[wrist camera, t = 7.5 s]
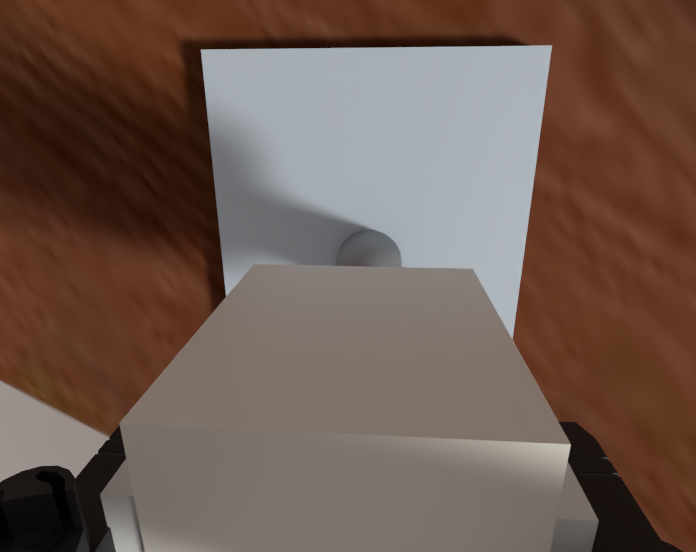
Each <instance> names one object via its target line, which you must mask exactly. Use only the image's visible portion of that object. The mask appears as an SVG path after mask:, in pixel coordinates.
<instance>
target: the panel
mask: <svg viewBox="0 0 696 552" xmlns="http://www.w3.org/2000/svg"><path fill="white" fill-rule="evenodd" d="M551 48H552V46H467V47H380V48H293V49H206V50H201V57H202V66H203V76H204V86H205V96H206V106H207V115H208V125H209V135H210V145H211V155H212V164H213V174H214V184H215V194H216V203H217V213H218V223H219V233H220V243H221V252H222V262H223V272H224V282H225V291H226V296H227V295H228V294H229V293H230V292H231V290H232V289H233V288H234V287H235V286H236V285H237V283H238V282H239V281H240V280H241V279H242V277H243V276H244V275H245V274H246V273H247V272H248V270H249V269H250V268H251V267H252V266H253V264H275V265H321V266H367V267H413V268H459V269H473V270H474V272H475V274H476V275H477V277H478V279H479V281H480V282H481V284H482V286H483V288H484V290H485V291H486V293H487V295H488V297H489V299H490V300H491V302H492V304H493V306H494V308H495V309H496V311H497V313H498V315H499V316H500V318H501V320H502V322H503V324H504V325H505V327H506V329H507V331H508V333H509V334H510V336H511V338H512V339H513V332H514V324H515V317H516V309H517V302H518V294H519V287H520V279H521V272H522V264H523V257H524V250H525V242H526V235H527V227H528V220H529V212H530V205H531V197H532V190H533V182H534V175H535V168H536V160H537V153H538V145H539V138H540V130H541V123H542V115H543V108H544V101H545V93H546V86H547V78H548V71H549V63H550V56H551Z"/></svg>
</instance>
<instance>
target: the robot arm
mask: <svg viewBox="0 0 696 552" xmlns="http://www.w3.org/2000/svg"><path fill="white" fill-rule="evenodd" d="M559 424H560V426H561V427H562V429H563V431H564V433H565V435H566V436H567V438H568V440H569V442H570V444H571V447H570V452H569V457H568V462H567V467H566V472H565V478H564V483H563V488H562V493H561V498H560V503H559V508H558V513H557V519H556V524H555V529H554V534H553V539H552V544H551V549H550V552H682V551H681V550H679V549H678V548H676V547H675V546H673V545H671V544H669V543H666V542H664V541H661V540H660V538H659V536H658V535H657V533H656V532H655V530H654V529H653V527H652V526H651V524H650V523H649V521H648V519H647V518H646V516H645V515H644V513H643V512H642V510H641V509H640V507H639V505H638V504H637V502H636V501H635V499H634V498H633V496H632V495H631V493H630V491H629V490H628V488H627V487H626V485H625V484H624V482H623V481H622V479H621V477H618V473H617V471H616V470H615V468H614V467H613V465H612V464H611V462H610V461H608V459H607V458H608V457H607V456H606V454H605V453H604V451H603V450H602V448H601V446H600V445H599V443H598V442H597V440H596V439H595V438H594V437H593V436H592V435H590V434H589V433H588V432H587V431H585V430H584V429H583V428H582V427H581V426H579V425H578V424H577V423H576V422H559ZM0 552H145V549H144V544H143V539H142V534H141V529H140V524H139V519H138V514H137V509H136V504H135V499H134V494H133V489H132V484H131V479H130V474H129V469H128V464H127V459H126V454H125V449H124V444H123V439H122V434H121V429H120V425H119V426H118V428H117V429H116V430H115V431H114V432H113V434H112V435H111V436H110V439H109V440H107V441H106V442H105V443H104V445H103V446H102V447H101V448H100V449H99V451H98V454H95V455H94V457H93V458H92V459H91V460H90V462H89V463H88V464H87V465H86V466H85V468H84V469H83V470H82V471H81V472H80V474H79V475H78V476H77V477H76V478H74V476H73V475H72V473H71V472H70V471H69V470H68V469H65V468H62V467H59V466H41V467H37V468H33V469H29V470H25V471H22V472H20V473H18V474H16V475H13V476H11V477H9V478H7V479H5V480H3V481H2V482H0Z"/></svg>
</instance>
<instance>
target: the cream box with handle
mask: <svg viewBox="0 0 696 552" xmlns="http://www.w3.org/2000/svg"><path fill="white" fill-rule="evenodd" d="M119 424H120V429H121V434H122V439H123V444H124V449H125V454H126V459H127V464H128V469H129V474H130V479H131V484H132V489H133V494H134V499H135V504H136V509H137V514H138V519H139V524H140V529H141V534H142V539H143V544H144V549H145V552H550V549H551V544H552V539H553V534H554V529H555V524H556V519H557V513H558V508H559V503H560V498H561V493H562V488H563V483H564V478H565V472H566V467H567V462H568V457H569V452H570V447H571V444H570V442H569V440H568V438H567V436H566V435H565V433H564V431H563V429H562V427H561V426H560V424H559V422H558V420H557V419H556V417H555V415H554V413H553V411H552V410H551V408H550V406H549V404H548V402H547V401H546V399H545V397H544V395H543V393H542V392H541V390H540V388H539V386H538V385H537V383H536V381H535V379H534V377H533V376H532V374H531V372H530V370H529V368H528V367H527V365H526V363H525V361H524V359H523V358H522V356H521V354H520V352H519V351H518V349H517V347H516V345H515V343H514V342H513V340H512V338H511V336H510V334H509V333H508V331H507V329H506V327H505V325H504V324H503V322H502V320H501V318H500V316H499V315H498V313H497V311H496V309H495V308H494V306H493V304H492V302H491V300H490V299H489V297H488V295H487V293H486V291H485V290H484V288H483V286H482V284H481V282H480V281H479V279H478V277H477V275H476V274H475V272H474V270H473V269H459V268H413V267H367V266H321V265H275V264H253V266H252V267H251V268H250V269H249V270H248V272H247V273H246V274H245V275H244V276H243V277H242V279H241V280H240V281H239V282H238V283H237V285H236V286H235V287H234V288H233V289H232V290H231V292H230V293H229V294H228V295H227V296H226V298H225V299H224V300H223V301H222V302H221V304H220V305H219V306H218V307H217V308H216V309H215V311H214V312H213V313H212V314H211V315H210V317H209V318H208V319H207V320H206V321H205V322H204V324H203V325H202V326H201V327H200V328H199V330H198V331H197V332H196V333H195V334H194V335H193V337H192V338H191V339H190V340H189V341H188V343H187V344H186V345H185V346H184V347H183V348H182V350H181V351H180V352H179V353H178V354H177V356H176V357H175V358H174V359H173V360H172V362H171V363H170V364H169V365H168V366H167V367H166V369H165V370H164V371H163V372H162V373H161V375H160V376H159V377H158V378H157V379H156V380H155V382H154V383H153V384H152V385H151V386H150V388H149V389H148V390H147V391H146V392H145V393H144V395H143V396H142V397H141V398H140V399H139V401H138V402H137V403H136V404H135V405H134V406H133V408H132V409H131V410H130V411H129V412H128V414H127V415H126V416H125V417H124V418H123V420H122V421H121V422H120V423H119Z"/></svg>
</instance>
